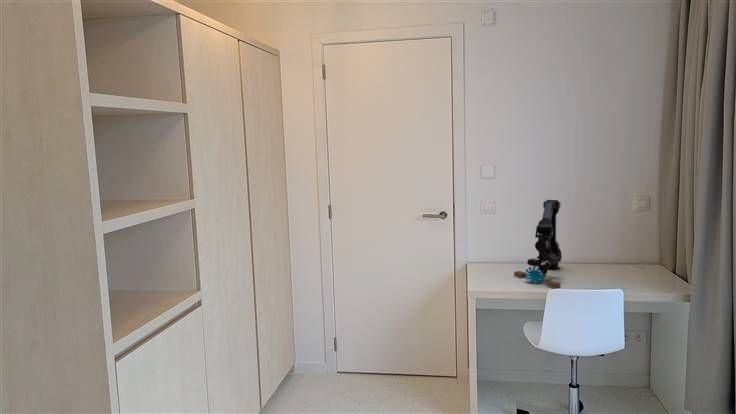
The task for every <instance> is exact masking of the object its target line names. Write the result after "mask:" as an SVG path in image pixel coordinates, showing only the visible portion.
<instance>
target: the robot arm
mask: <svg viewBox="0 0 736 414" xmlns="http://www.w3.org/2000/svg"><path fill="white" fill-rule="evenodd" d="M542 206H543V207H542V208H543V213H542V216H541V217H542V218H541V219H540V220H539V221H538V224H537V225H536V227H535V234H534V235H535V237H534V238H536V239H537V241H536V242H535V244H534V248H535V250H536V251H537V252H538V255H537V256H536V258H530V259H528V260H527V265H529V266H530V267H538V268H540V270H539V272H540V271H543V274H542V275H545V274H546V275H547V273H548V270H552V271H554V270H560V269H561V266H559V263H561V261H562V257H563V256H562V255H563V254H562V251H561V248H560V244H559V243H558V241H557V215H558V213H559V212H560V209H561V206H562V205H561V202H560V201H559V199H546V201H545V200H544V201H543V205H542Z"/></svg>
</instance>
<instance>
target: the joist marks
mask: <svg viewBox="0 0 736 414" xmlns="http://www.w3.org/2000/svg"><path fill="white" fill-rule="evenodd" d="M525 273H526V271H522V270H516V271H513V277H516V278H518V279H527V278H526V277H528V276H526V275H525ZM545 284H546V287H547V288H551V289H553V288H557V289H560V288H561V282H558V281H556V280H547V281H546V283H545Z"/></svg>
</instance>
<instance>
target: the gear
mask: <svg viewBox="0 0 736 414" xmlns="http://www.w3.org/2000/svg"><path fill="white" fill-rule="evenodd" d="M536 268H537V266H529V267H528V269H525V275H526V276H527V277H526V278H525V279H526V280H527V281H529V282H530V283H533V284H535V285H537V284H541V283H542V282H543V281H544V280H545V278H546V277H547V276H548V274H547V273H546V274H545V275H542V274H543V271H540V268H539V267H538V268H537V269H536ZM533 281H534V282H533ZM537 281H538V282H537Z"/></svg>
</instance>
